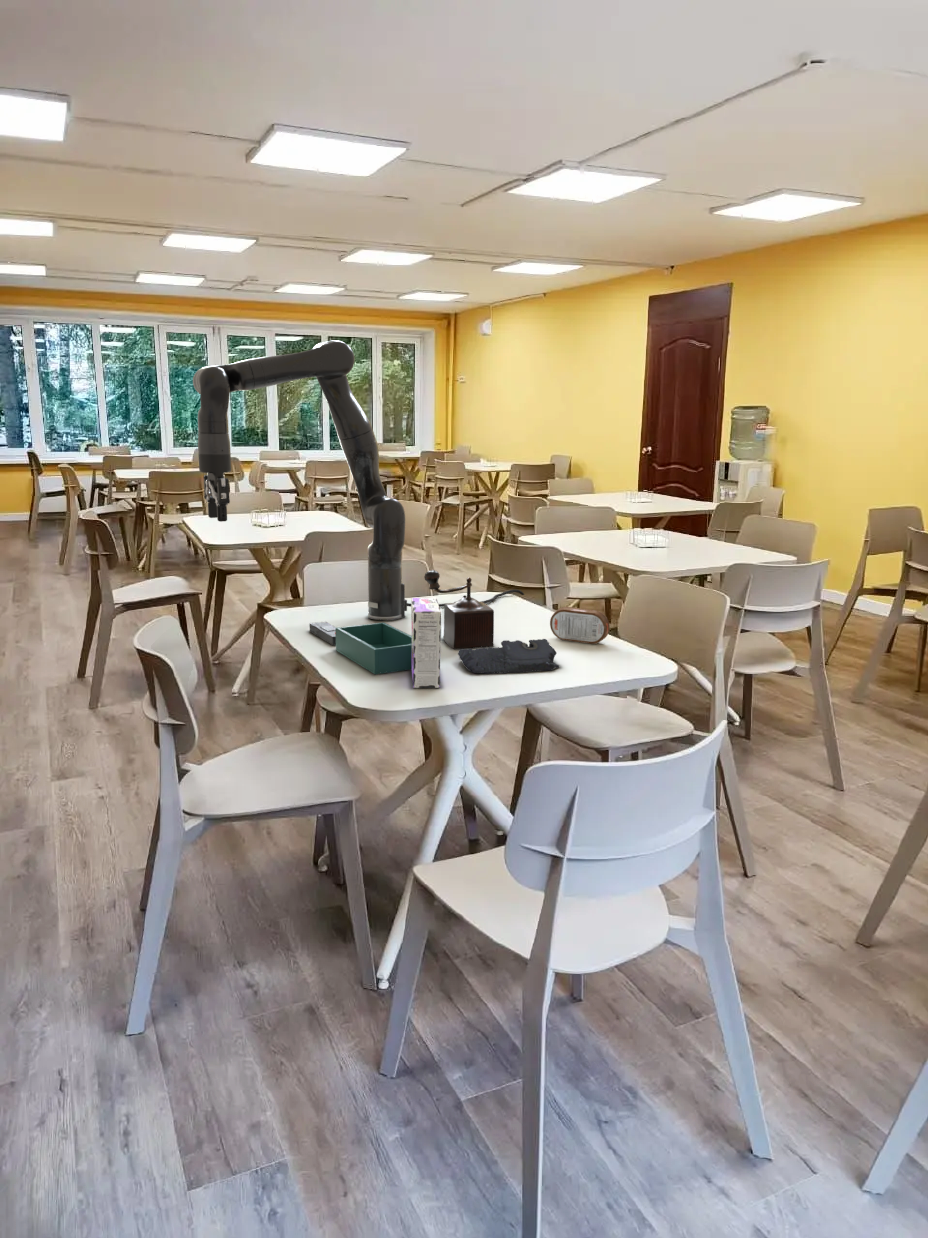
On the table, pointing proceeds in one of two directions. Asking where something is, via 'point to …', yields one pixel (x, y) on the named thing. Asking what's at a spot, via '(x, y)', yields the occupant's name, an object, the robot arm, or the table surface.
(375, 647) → the bin
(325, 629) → the remote
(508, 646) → the dark slate chunk
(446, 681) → the table surface
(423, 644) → the candy box
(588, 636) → the tin
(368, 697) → the table surface
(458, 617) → the manual coffee grinder
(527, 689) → the table surface
